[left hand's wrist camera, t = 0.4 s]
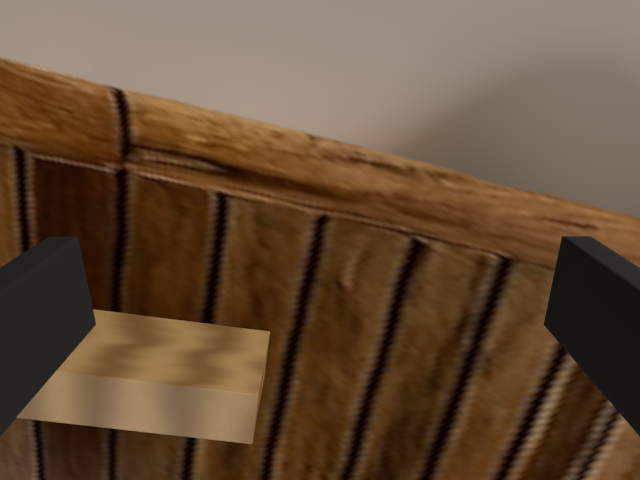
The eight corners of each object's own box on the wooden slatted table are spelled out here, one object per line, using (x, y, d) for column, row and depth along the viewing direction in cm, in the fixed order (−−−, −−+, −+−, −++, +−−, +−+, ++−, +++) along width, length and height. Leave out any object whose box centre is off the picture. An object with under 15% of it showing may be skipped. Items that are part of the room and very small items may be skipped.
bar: (270, 331, 44) (258, 395, 35) (264, 374, 45) (252, 444, 37) (24, 300, 42) (-49, 358, 34) (28, 345, 44) (-39, 412, 36)
